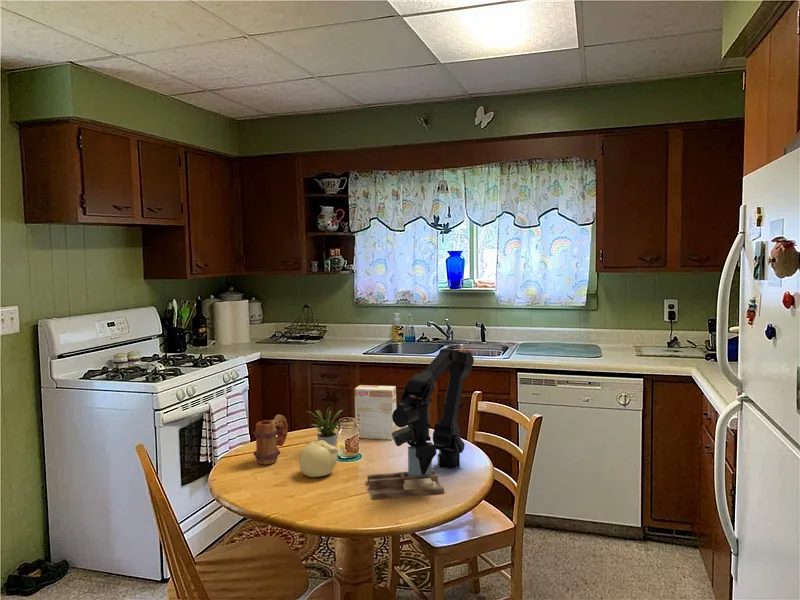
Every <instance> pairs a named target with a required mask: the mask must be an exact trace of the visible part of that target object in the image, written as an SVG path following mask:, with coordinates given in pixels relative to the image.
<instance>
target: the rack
mask: <svg viewBox="0 0 800 600" xmlns="http://www.w3.org/2000/svg"><path fill="white" fill-rule="evenodd" d="M435 473H436V471H435V469H432V475H423V476H410V477H408V471H402V472H401V471H399V472H398V471H397V472H388V473H375V474H367V476H366V477H367V479H366V481H364V482H365V484H366V487H367V491H368V494H369V497H370V499H371V500H381V499H382V500H383V499H392V498H394V499H395V498H406V497H416V496H417V497H418V496H419V497H420V496H429V495H439V494H441V495H442V494H443V495H444V494H446V491H445V488H444V487H443V486H442V485H441V484H440V482H439V475H438V474H435ZM425 478H431V480H432V482H433V481H436V483H437V485H438V486H439V487H434V488H422V489H410V490H404V489H403V484H404V480H413V479H425Z"/></svg>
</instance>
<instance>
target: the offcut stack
mask: <svg viewBox="0 0 800 600" xmlns="http://www.w3.org/2000/svg"><path fill="white" fill-rule="evenodd" d="M434 487H439V486H438V485H437V483H436V481H433V482H432V480H431V478H425V479H413V480H404V484H403V489H404V490H410V489H422V488H434Z"/></svg>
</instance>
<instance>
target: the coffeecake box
mask: <svg viewBox="0 0 800 600" xmlns="http://www.w3.org/2000/svg"><path fill="white" fill-rule="evenodd" d="M395 409H397V386H396V385H375V384H374V385H371V384H370V385H367V384H359V385H357V386H356V387H355V388H354V420H355V419H356V420H357V423H358V424H359V426H358V429H359V435H360V438H359V439H371V440H373V439H374V440H375V439H376V440H386V439H387V440H386V441H389V440H390V441H394V439H393V437H392V433H393V432H395V431H397V430H398V429H397V427H398V426H396V425H395V423H394V422H393V419H392V414H393V412H394V410H395Z"/></svg>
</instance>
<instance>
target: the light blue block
mask: <svg viewBox="0 0 800 600" xmlns="http://www.w3.org/2000/svg"><path fill="white" fill-rule="evenodd" d="M407 466H408V467H407V469H408V470H407V472H408V477H410V476H423V475H422V474H421V470H420V464H419V459H418V458H417V457H415V455H414V446H412V447H411V446H407ZM432 470H433V460H432V461H431V463H430V465H429V467H428V469H427V471H426V474H425V475H432Z"/></svg>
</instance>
